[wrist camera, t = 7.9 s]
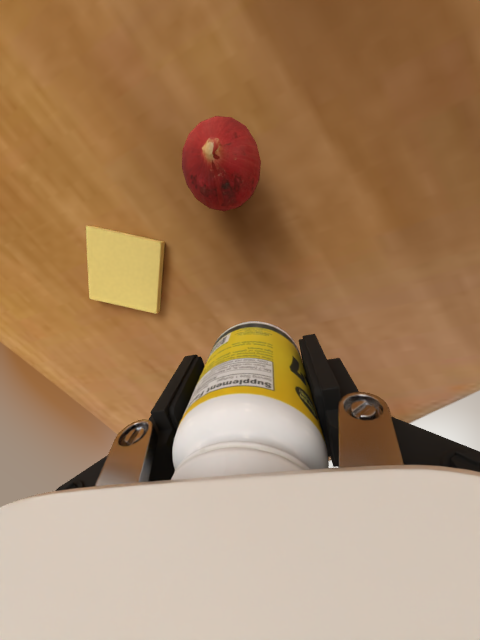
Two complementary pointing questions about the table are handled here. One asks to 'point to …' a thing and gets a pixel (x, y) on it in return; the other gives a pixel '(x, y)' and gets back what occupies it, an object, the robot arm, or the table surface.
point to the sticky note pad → (124, 269)
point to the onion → (221, 163)
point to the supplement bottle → (250, 409)
